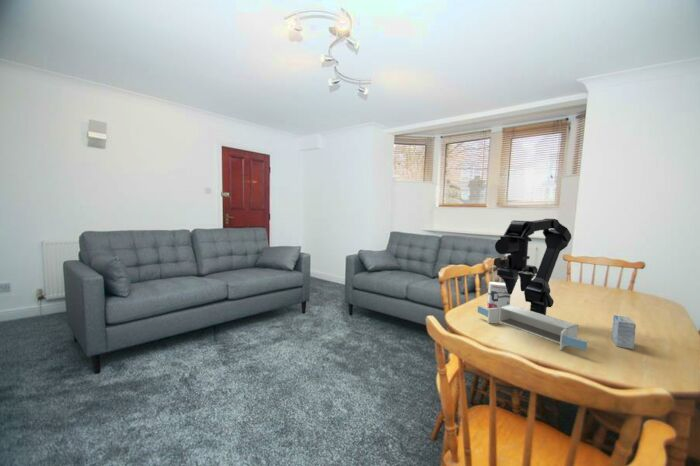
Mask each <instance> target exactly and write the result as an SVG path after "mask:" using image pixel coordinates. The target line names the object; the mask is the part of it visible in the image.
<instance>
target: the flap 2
mask: <svg viewBox="0 0 700 466" xmlns="http://www.w3.org/2000/svg"><path fill="white" fill-rule="evenodd" d="M565 345H568V346H569V347H572V348H576V349H578V350H582V351H588V350H587V348H588V341H587V340H583V339H579V338H577V339H576V338H573V337H569V336H566V329H565V328H564V330H563V331H562V332H561V336H560V344H559V351H562V350H563V349H564V348H565V347H566V346H565Z"/></svg>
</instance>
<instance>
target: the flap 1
mask: <svg viewBox="0 0 700 466" xmlns="http://www.w3.org/2000/svg"><path fill="white" fill-rule="evenodd" d="M477 313H478V314H480V315H483V316H484V317H487V323H488V324H495V323H500V322H499V317H500V308H489V309H488V308H486V307H483V306H481V305H477Z"/></svg>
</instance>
